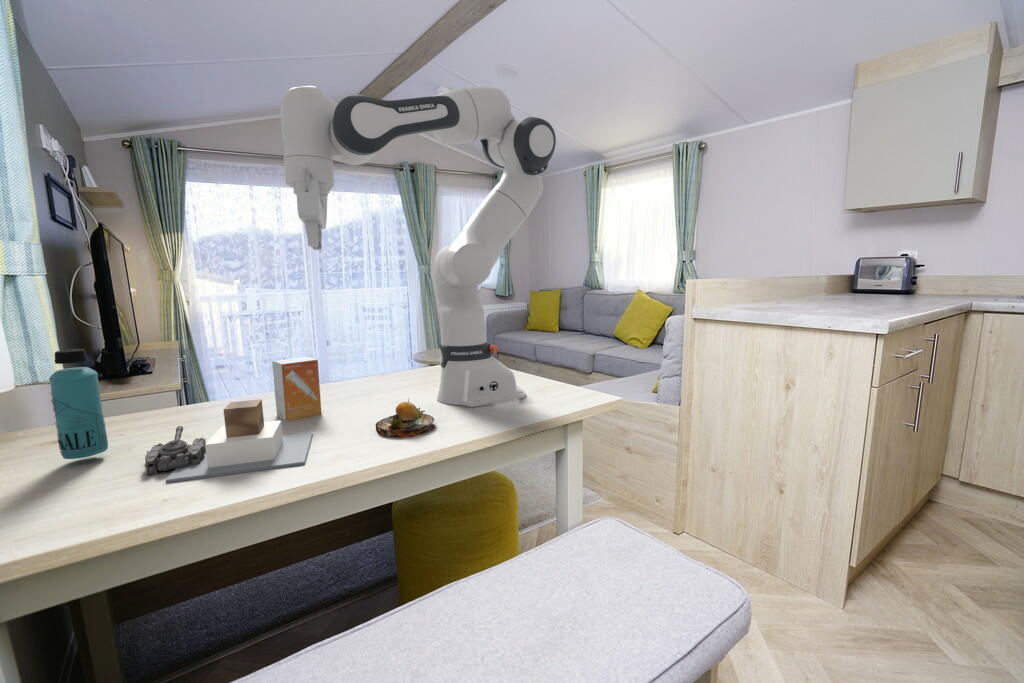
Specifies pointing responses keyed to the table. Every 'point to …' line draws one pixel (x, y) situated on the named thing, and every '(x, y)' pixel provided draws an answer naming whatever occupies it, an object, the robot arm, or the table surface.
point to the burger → (405, 422)
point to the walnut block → (243, 418)
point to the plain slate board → (288, 455)
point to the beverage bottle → (77, 407)
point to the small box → (296, 388)
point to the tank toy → (174, 454)
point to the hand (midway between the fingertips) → (315, 248)
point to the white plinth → (244, 446)
